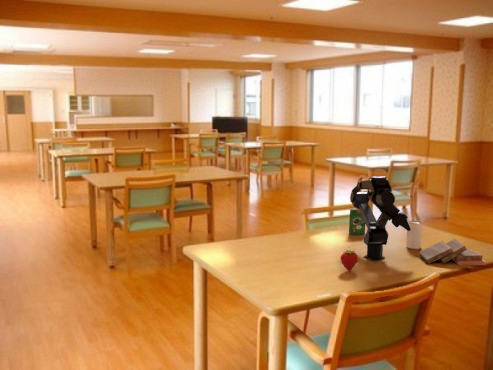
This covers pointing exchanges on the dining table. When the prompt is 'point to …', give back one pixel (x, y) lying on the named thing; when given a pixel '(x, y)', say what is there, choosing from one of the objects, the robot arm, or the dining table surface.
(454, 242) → the tile
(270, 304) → the dining table surface
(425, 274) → the dining table surface
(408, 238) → the can
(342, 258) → the strawberry
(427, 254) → the tile
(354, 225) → the coffee box
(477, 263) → the tile
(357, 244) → the dining table surface
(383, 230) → the robot arm
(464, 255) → the tile
